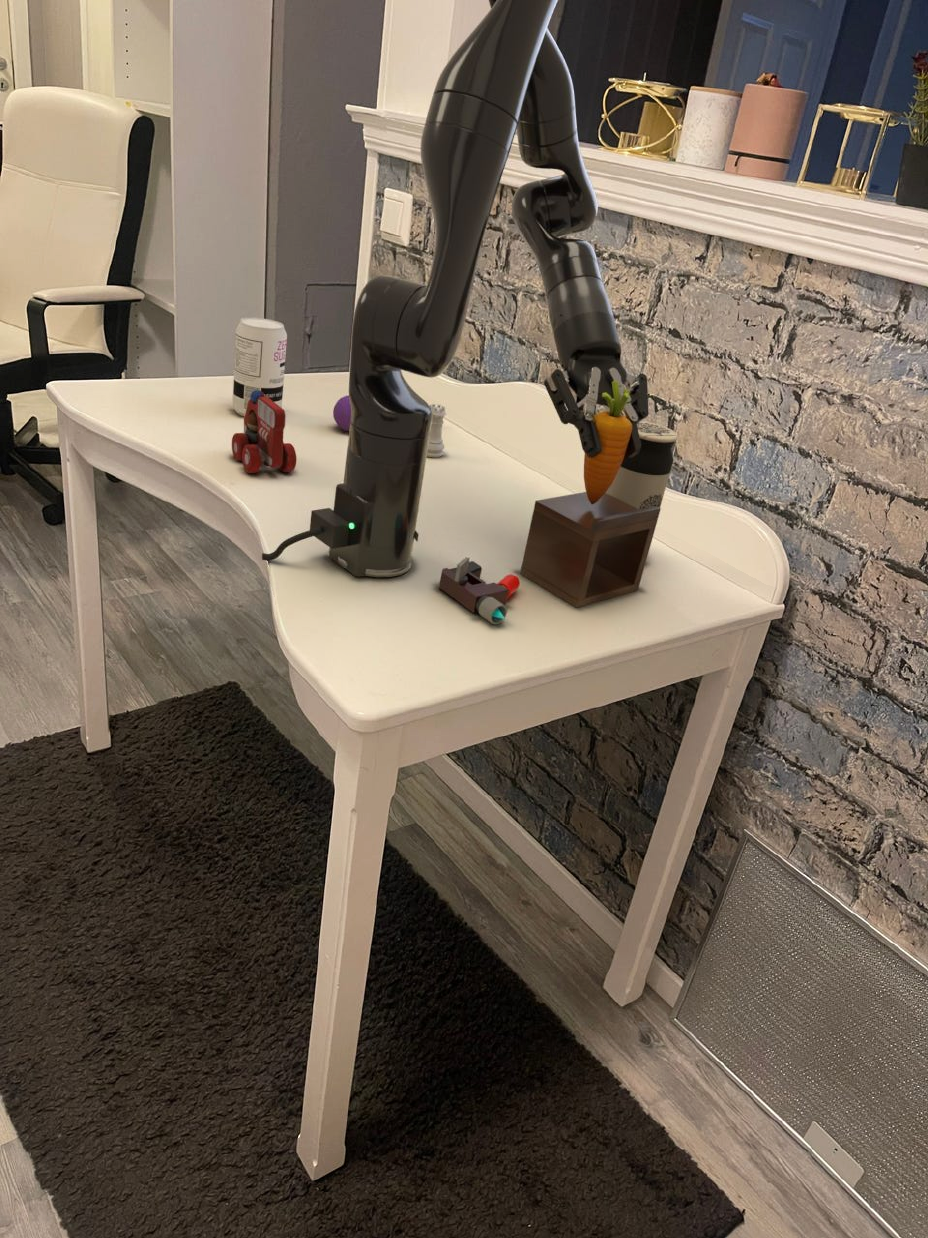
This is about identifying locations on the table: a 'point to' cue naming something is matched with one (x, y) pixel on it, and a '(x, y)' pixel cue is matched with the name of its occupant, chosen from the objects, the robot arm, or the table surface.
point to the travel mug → (646, 468)
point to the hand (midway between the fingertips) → (614, 454)
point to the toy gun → (478, 590)
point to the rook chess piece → (436, 432)
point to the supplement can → (258, 361)
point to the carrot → (608, 445)
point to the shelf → (588, 547)
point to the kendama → (343, 413)
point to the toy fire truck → (263, 437)
